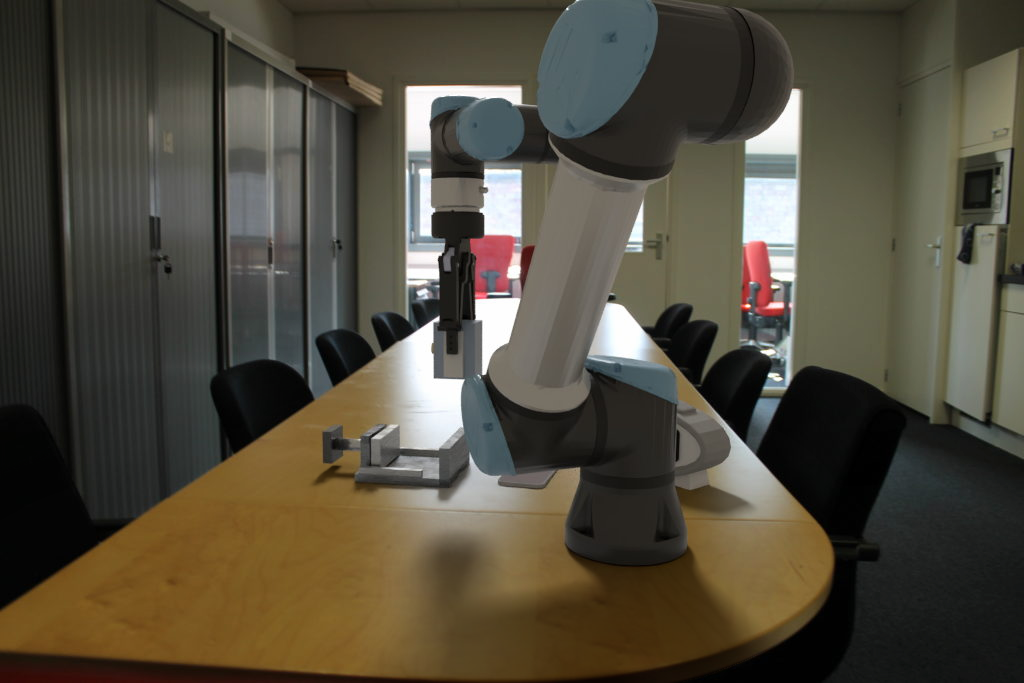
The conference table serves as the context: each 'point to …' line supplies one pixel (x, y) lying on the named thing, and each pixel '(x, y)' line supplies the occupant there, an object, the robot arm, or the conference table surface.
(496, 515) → the conference table surface
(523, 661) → the conference table surface
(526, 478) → the smartphone
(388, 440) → the ram
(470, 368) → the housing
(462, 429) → the press bed
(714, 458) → the alarm clock
